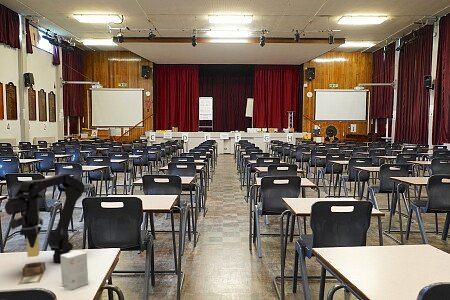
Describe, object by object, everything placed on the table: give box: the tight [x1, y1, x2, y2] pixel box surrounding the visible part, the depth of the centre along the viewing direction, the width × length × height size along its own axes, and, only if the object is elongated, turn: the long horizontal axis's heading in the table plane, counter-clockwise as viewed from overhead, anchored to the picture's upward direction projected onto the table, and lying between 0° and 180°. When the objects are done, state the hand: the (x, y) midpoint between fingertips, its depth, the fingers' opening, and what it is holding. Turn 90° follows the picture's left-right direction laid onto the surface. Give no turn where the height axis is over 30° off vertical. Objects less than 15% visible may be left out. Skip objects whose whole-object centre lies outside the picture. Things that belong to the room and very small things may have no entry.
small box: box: [60, 249, 89, 291], centre depth 163 cm, size 8×6×13 cm
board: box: [17, 272, 45, 286], centre depth 172 cm, size 8×17×1 cm, turn 15°
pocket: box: [22, 261, 47, 277], centre depth 177 cm, size 8×8×3 cm
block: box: [26, 235, 40, 258], centre depth 176 cm, size 4×4×9 cm
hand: (33, 246), depth 176 cm, fingers closed on block, 4 cm apart
